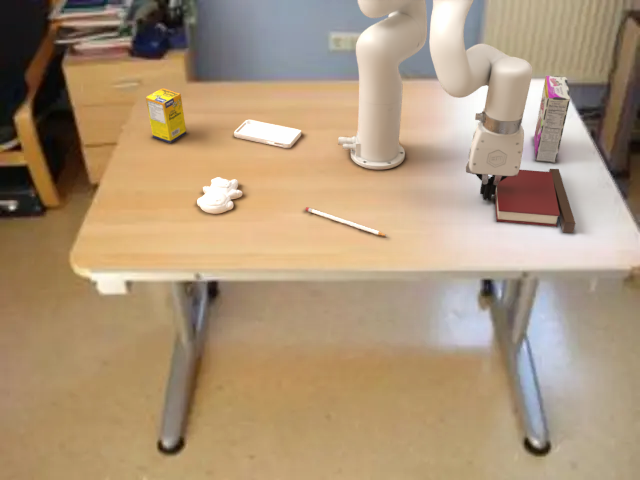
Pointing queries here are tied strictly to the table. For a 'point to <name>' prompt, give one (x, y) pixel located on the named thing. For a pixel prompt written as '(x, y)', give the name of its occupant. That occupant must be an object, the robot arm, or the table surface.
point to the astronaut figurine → (219, 196)
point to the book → (527, 199)
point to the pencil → (345, 221)
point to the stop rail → (563, 203)
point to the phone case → (268, 133)
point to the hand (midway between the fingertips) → (486, 196)
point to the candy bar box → (551, 118)
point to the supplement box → (166, 115)
